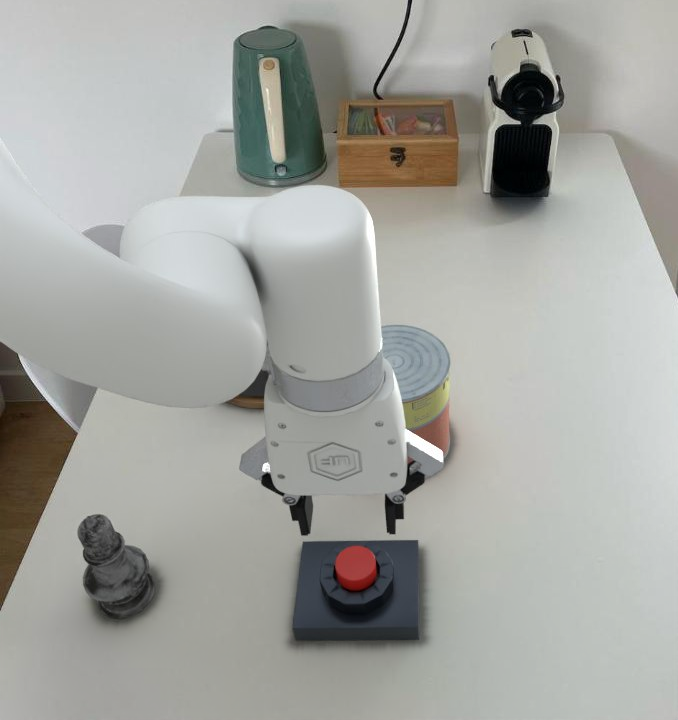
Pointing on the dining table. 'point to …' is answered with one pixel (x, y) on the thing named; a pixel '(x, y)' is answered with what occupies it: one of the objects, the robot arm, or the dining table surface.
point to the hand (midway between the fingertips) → (349, 519)
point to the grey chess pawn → (114, 569)
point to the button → (356, 568)
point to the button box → (358, 594)
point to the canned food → (420, 381)
